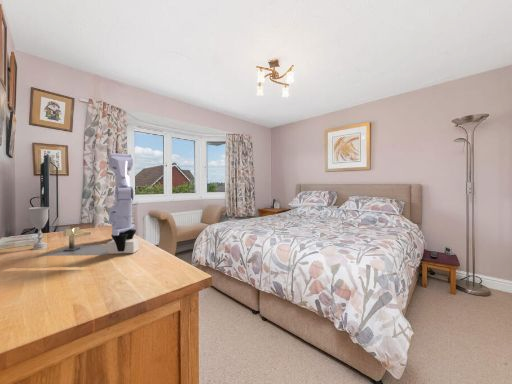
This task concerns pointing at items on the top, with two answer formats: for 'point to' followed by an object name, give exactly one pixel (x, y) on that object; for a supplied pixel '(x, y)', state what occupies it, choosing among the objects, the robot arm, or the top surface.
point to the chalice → (39, 223)
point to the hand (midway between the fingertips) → (124, 249)
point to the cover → (130, 246)
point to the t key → (71, 232)
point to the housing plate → (80, 250)
